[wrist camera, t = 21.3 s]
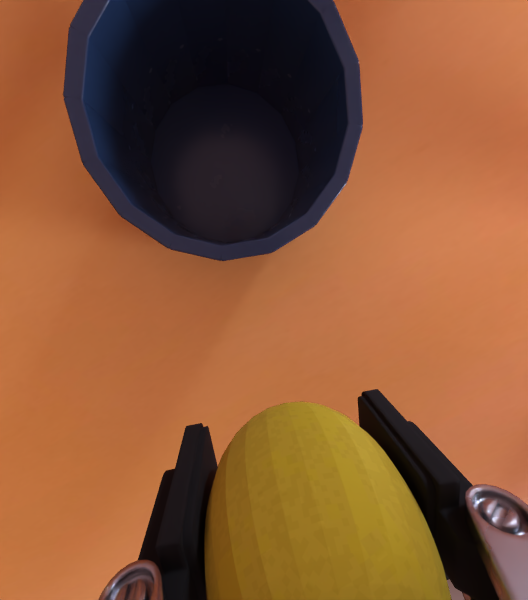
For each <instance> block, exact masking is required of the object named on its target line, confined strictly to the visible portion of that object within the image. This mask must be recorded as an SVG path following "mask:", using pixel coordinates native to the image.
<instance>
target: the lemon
mask: <svg viewBox="0 0 528 600" xmlns="http://www.w3.org/2000/svg"><path fill="white" fill-rule="evenodd" d="M204 551H205V585H206V599H207V600H452V599H451V595H450V592H449V587H448V584H447V580H446V576H445V572H444V568H443V565H442V562H441V559H440V556H439V553H438V550H437V547H436V544H435V542H434V539H433V537H432V534H431V532H430V529H429V527H428V525H427V522H426V520H425V518H424V516H423V514H422V511H421V509H420V507H419V505H418V503H417V501H416V499H415V498H414V496H413V494H412V492H411V490H410V489H409V487H408V485H407V484H406V482H405V480H404V479H403V477H402V476H401V474H400V473H399V471H398V470H397V468H396V467H395V466H394V464H393V463H392V461H391V460H390V458H389V457H388V456H387V454H386V453H385V452H384V450H383V449H382V448H381V447H380V445H379V444H378V443H377V442H376V441H375V440H374V439H373V438H372V437H371V436H370V435H369V434H368V433H367V432H366V431H364V430H363V429H362V428H361V427H359V426H358V425H357V424H356V423H354V422H353V421H352V420H351V419H349V418H348V417H347V416H345V415H343V414H342V413H340V412H338V411H335V410H333V409H331V408H328V407H326V406H323V405H320V404H315V403H308V402H291V403H283V404H280V405H277V406H273V407H270V408H268V409H266V410H264V411H262V412H261V413H259V414H257V415H256V416H254V417H253V418H251V419H250V420H249V421H248V422H247V423H246V424H245V425H244V426H243V427H242V428H241V429H240V430H239V431H238V432H237V433H236V435H235V436H234V438H233V439H232V441H231V442H230V444H229V445H228V447H227V449H226V450H225V452H224V454H223V455H222V458H221V460H220V462H219V465H218V468H217V472H216V475H215V478H214V482H213V485H212V488H211V492H210V496H209V500H208V505H207V512H206V519H205V535H204Z"/></svg>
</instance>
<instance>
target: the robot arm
mask: <svg viewBox="0 0 528 600" xmlns="http://www.w3.org/2000/svg"><path fill="white" fill-rule="evenodd" d="M358 410H359V426H360V427H361V428H362V429H363V430H364V431H366V432H367V433H368V434H369V435H370V436H371V437H372V438H373V439H374V440H375V441H376V442H377V443H378V444H379V445H380V447H381V448H382V449H383V450H384V452H385V453H386V454H387V456H388V457H389V458H390V460H391V461H392V463H393V464H394V466H395V467H396V468H397V470H398V471H399V473H400V474H401V476H402V477H403V479H404V480H405V482H406V484H407V485H408V487H409V489H410V490H411V492H412V494H413V496H414V498H415V499H416V501H417V503H418V505H419V507H420V509H421V511H422V514H423V516H424V518H425V520H426V522H427V525H428V527H429V529H430V532H431V534H432V537H433V539H434V542H435V544H436V547H437V550H438V553H439V556H440V559H441V562H442V565H443V568H444V572H445V576H446V580H448V579H450V580H451V582H452V584H453V585H454V587H455V588H456V589H458V590H460V591H461V592H462V593H463V596H464V599H465V600H528V505H527V504H526V503H524V502H523V501H522V500H521V499H519V498H518V497H517V496H515V495H513V494H512V493H510V492H508V491H506V490H504V489H501V488H499V487H496V486H491V485H486V484H481V485H474V486H473V485H472V484H471V483H470V482H469V481H468V480H467V479H466V478H465V477H464V476H463V475H462V473H461V472H460V471H459V470H458V469H457V468H456V467H455V466H454V465H453V464H452V463H451V462H450V461H449V460H448V459H447V458H446V456H445V455H444V454H443V453H442V452H441V451H440V450H439V449H438V448H437V447H436V446H435V445H434V444H433V443H432V442H431V441H430V439H429V438H428V437H427V436H426V435H425V434H424V433H423V432H422V431H421V430H420V429H419V428H418V427H417V426H416V425H415V424H414V423H413V422H411V421H408V422H407V421H406V420H405V418H404V417H403V416H402V415H401V414H400V413H399V412H398V411H397V410H396V409H395V408H394V406H393V405H392V404H391V403H390V402H389V401H388V400H387V399H386V398H385V397H384V395H383V394H382V393H381V392H380V391H379V390H377V389H375V390H370V391H365V392H362V396H360V397H358ZM217 468H218V466H217V462H216V458H215V454H214V449H213V445H212V441H211V436H210V432H209V428H208V426H206V427H203V425H202V423H200V424H194V425H189V426H186V428H185V432H184V436H183V440H182V444H181V447H180V451H179V455H178V459H177V463H176V467H175V469H172V470H167V471H165V473H164V475H163V477H162V481H161V484H160V487H159V491H158V494H157V497H156V501H155V504H154V508H153V511H152V514H151V518H150V521H149V524H148V528H147V531H146V535H145V538H144V541H143V545H142V548H141V552H140V555H139V558H138V561H135V562H133V563H130V564H128V565H127V566H126V567H124V568H123V569H121V570H120V571H119V572H118V573H117V574H116V575H115V576H114V577H113V578H112V579H111V580H110V581H109V583H108V584H107V586H106V587H105V588H104V590H103V591H102V593H101V595H100V597H99V600H207V599H206V585H205V551H204V535H205V519H206V512H207V505H208V500H209V496H210V492H211V488H212V485H213V482H214V478H215V475H216V472H217Z"/></svg>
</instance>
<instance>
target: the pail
mask: <svg viewBox="0 0 528 600" xmlns="http://www.w3.org/2000/svg"><path fill="white" fill-rule="evenodd" d="M63 96H64V97H65V98H64V101H65V105H66V108H67V112H68V115H69V119H70V122H71V125H72V129H73V132H74V136H75V139H76V143H77V146H78V150H79V153H80V157H81V160H82V162H83V165H84V167H85V168H86V169H87V171H88V172H89V174H90V175H91V176H92V178H93V179H94V181H95V182H96V183H97V185H98V186H99V187H100V189H101V190H102V192H103V193H104V194H105V196H106V197H107V199H108V200H109V201H110V203H111V204H112V205H113V207H114V208H115V210H116V211H117V212H118V214H119V215H120V216H121V217H122V218H124V219H125V220H127V221H128V222H130V223H131V224H133V225H134V226H136V227H137V228H139V229H140V230H141V231H143V232H144V233H146V234H147V235H149V236H150V237H152V238H153V239H155V240H156V241H158V242H159V243H161V244H162V245H164V246H165V247H167V248H170V249H171V250H175V251H180V252H184V253H188V254H193V255H197V256H201V257H206V258H210V259H214V260H219V261H221V260H222V261H226V260H233V259H239V258H245V257H251V256H257V255H263V254H269V253H272V252H274V251H276V250H278V249H279V248H281V247H282V246H284V245H286V244H287V243H289V242H290V241H292V240H293V239H295V238H297V237H298V236H300V235H301V234H303V233H305V232H306V231H308V230H309V229H311V228H313V227H314V226H315V225H317V223H318V222H319V220H320V219H321V218H322V216H323V215H324V214H325V212H326V211H327V209H328V208H329V207H330V205H331V204H332V203H333V201H334V200H335V198H336V197H337V196H338V194H339V193H340V192H341V190H342V189H343V187H344V186H345V185H346V183H347V181H348V178H349V174H350V170H351V167H352V163H353V160H354V156H355V153H356V149H357V146H358V142H359V139H360V135H361V131H362V128H363V126H362V125H363V116H362V99H361V83H360V67H359V60H358V58H357V55H356V53H355V51H354V48H353V46H352V43H351V41H350V39H349V36H348V34H347V31H346V29H345V27H344V24H343V22H342V20H341V17H340V15H339V12H338V10H337V8H336V5H335V3H334V1H333V0H83V2H82V4H81V6H80V8H79V9H78V11H77V13H76V15H75V17H74V19H73V20H72V22H71V24H70V27H69V33H68V45H67V57H66V69H65V80H64V92H63Z"/></svg>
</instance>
